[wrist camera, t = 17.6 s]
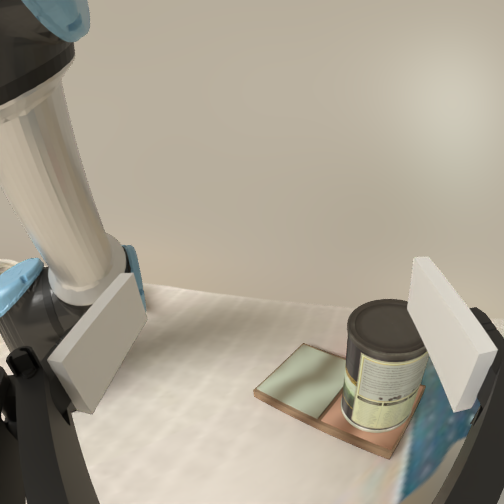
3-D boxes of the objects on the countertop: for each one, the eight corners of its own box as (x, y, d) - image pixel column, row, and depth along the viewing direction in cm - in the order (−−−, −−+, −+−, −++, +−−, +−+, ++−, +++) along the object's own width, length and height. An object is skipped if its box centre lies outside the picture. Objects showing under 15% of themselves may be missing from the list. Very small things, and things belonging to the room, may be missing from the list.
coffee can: (324, 403, 40) (328, 322, 35) (376, 368, 45) (387, 289, 39) (376, 447, 32) (399, 369, 26) (426, 403, 36) (452, 322, 31)
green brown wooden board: (254, 396, 45) (253, 389, 44) (303, 349, 54) (303, 342, 53) (389, 459, 31) (392, 453, 31) (423, 392, 40) (426, 385, 39)
